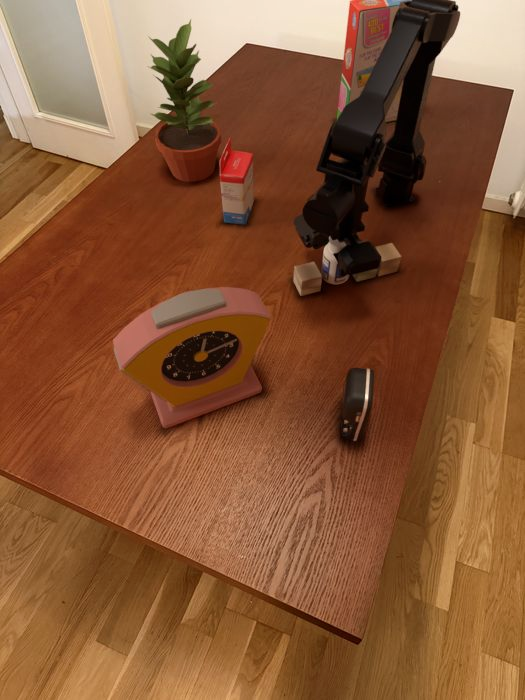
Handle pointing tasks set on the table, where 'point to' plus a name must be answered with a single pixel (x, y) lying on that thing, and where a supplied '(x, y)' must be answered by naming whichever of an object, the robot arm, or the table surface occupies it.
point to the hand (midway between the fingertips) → (336, 265)
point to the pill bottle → (332, 263)
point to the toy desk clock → (195, 351)
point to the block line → (311, 278)
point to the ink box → (236, 185)
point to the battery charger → (356, 402)
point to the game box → (366, 48)
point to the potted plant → (185, 113)
